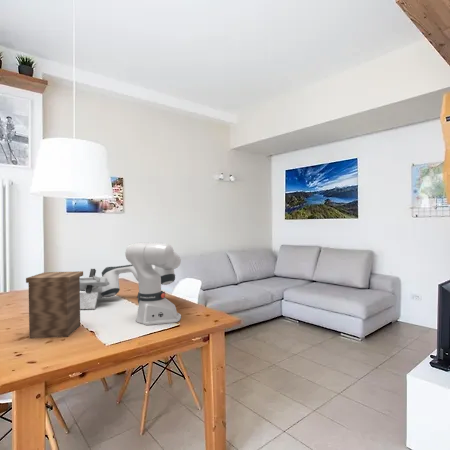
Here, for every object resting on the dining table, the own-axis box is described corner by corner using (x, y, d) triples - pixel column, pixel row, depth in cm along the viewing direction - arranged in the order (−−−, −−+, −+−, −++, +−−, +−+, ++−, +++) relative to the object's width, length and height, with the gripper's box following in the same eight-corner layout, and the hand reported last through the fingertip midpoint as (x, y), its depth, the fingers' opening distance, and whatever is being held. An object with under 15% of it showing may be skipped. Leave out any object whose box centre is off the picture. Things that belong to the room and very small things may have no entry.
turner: (103, 270, 194) (102, 268, 192) (95, 309, 179) (93, 307, 178) (84, 270, 194) (83, 269, 192) (75, 309, 179) (73, 308, 177)
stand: (84, 324, 152) (83, 271, 152) (70, 336, 136) (69, 277, 136) (45, 326, 151) (44, 272, 151) (27, 338, 135) (25, 278, 135)
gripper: (109, 289, 190) (103, 282, 178) (75, 290, 189) (66, 283, 177) (111, 279, 193) (105, 271, 181) (77, 280, 192) (68, 272, 180)
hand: (85, 277), depth 179 cm, fingers open, 8 cm apart
